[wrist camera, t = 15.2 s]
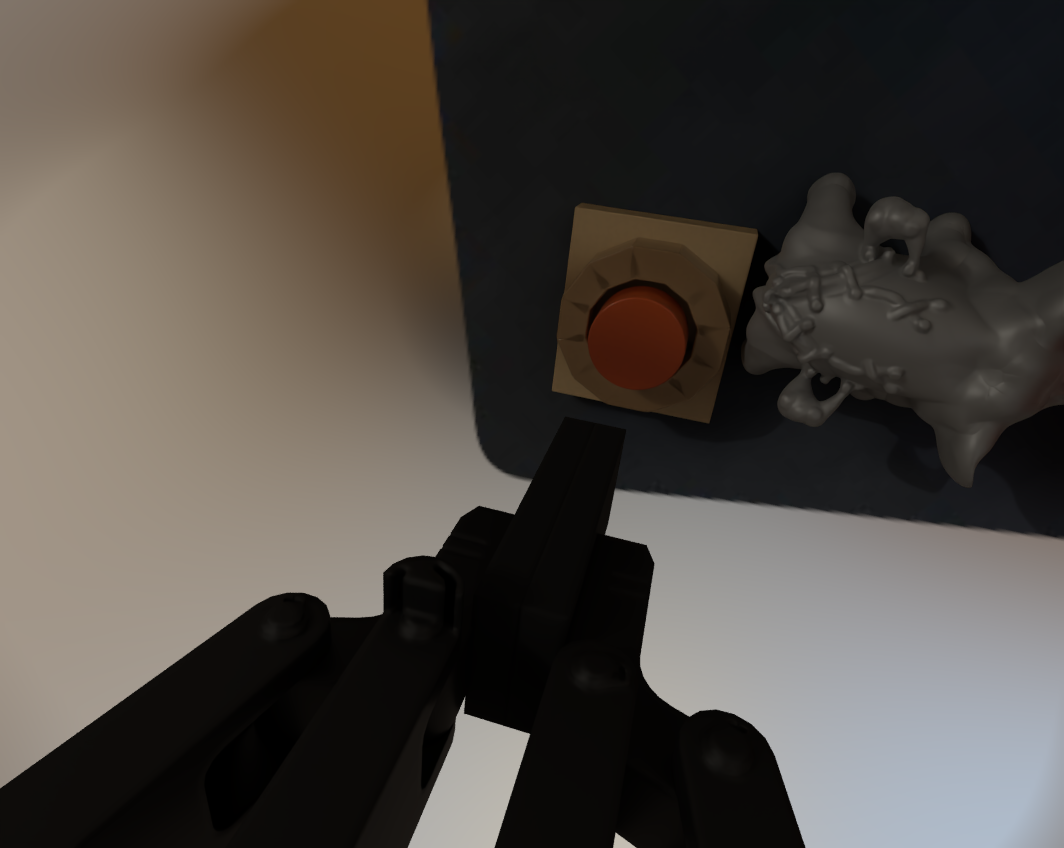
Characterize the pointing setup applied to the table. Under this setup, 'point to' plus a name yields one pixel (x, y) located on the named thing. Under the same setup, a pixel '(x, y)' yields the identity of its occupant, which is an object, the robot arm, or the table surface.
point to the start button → (638, 338)
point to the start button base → (669, 265)
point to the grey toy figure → (907, 323)
